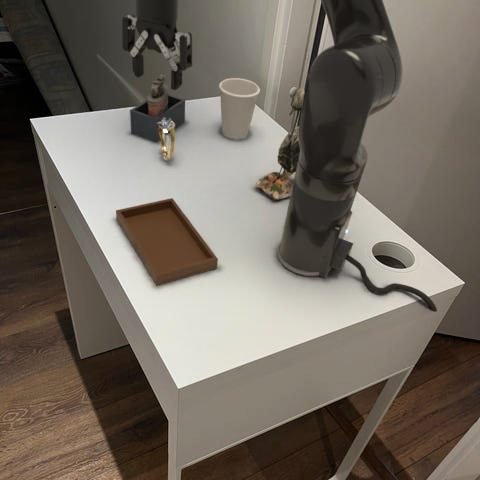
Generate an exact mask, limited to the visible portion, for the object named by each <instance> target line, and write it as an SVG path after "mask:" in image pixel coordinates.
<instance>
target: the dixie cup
mask: <svg viewBox="0 0 480 480" xmlns="http://www.w3.org/2000/svg"><path fill="white" fill-rule="evenodd" d="M218 88H219V94H220V95H219V96H220V118H221V120H220V121H221V122H220V123H221V134H222V136H224V137H225V138H227V139H229V140H237V141H238V140H240V141H241V140H245V139H246V138H247V137H248V135H249V132H250V127H251V123H252V119H253V116H254V113H255V112H254V111H255V108H256V104H257V100H258V95H259V94H260V92H261V90H260V87H259V86H258V84H256V83H255V82H254V81H251V80H249V79H246V78H239V77H238V78H237V77H232V78H226V79H224V80H222V81H221V82H219V85H218Z"/></svg>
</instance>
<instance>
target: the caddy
mask: <svg viewBox="0 0 480 480" xmlns="http://www.w3.org/2000/svg"><path fill="white" fill-rule="evenodd" d="M163 117H165V120H166V121H169V119H171V121H173V122H174V123H175V127H174V131H175V130H176V129H178V128H179V127H181V126H182V125H183V124H184V123H185V122H186V100H185V99H184V98H181V97H178V96H174V95H172V94H170V93H168V110H166V111H164V112H163V113H161V114H160V115H158V116H157V117H152V116H149V109H148V103H147V99H145V100H144V101H143V102H141V103H139V104H138V105H136V106H134V107H133V108H131V109H129V121H130V133H131V135H135V136H137V137H139V138H142V139H145V140H147V141H150V142H153V143H156V144H157V143H158V142H161V141H160V136H159V130H158V122H162V120H163ZM161 131H162V129H161ZM167 132H168V135H169V134H171V133H170V130H169V131H167Z"/></svg>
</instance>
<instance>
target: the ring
mask: <svg viewBox="0 0 480 480" xmlns="http://www.w3.org/2000/svg"><path fill="white" fill-rule="evenodd" d="M174 127H175V123H174V122H173V121H171V119H169V121H166V120H165V117H163V120H162V122H158V130H159V136H160V141H159V142H160V147H161V149H162V150H161V152H162V155H163V160H165V161H171V160H172V159H173V155H174V151H175V142H176V134H175V133H176V132H175V130H174ZM161 129H162V131H161ZM169 130H170V133H169V134H170V135H169V134H168V132H167V131H169ZM166 144H167V145H166Z"/></svg>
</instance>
